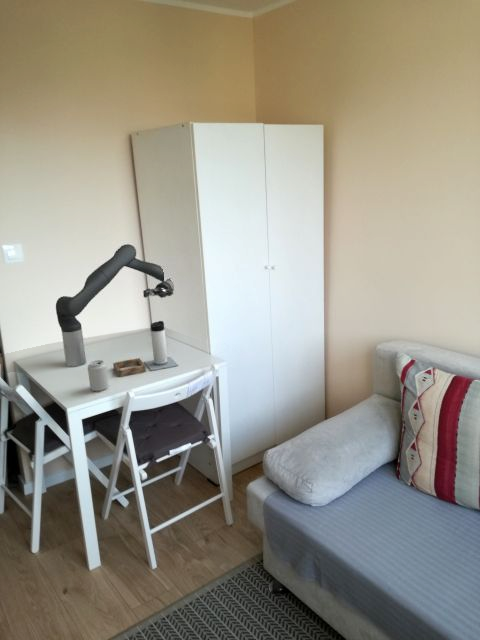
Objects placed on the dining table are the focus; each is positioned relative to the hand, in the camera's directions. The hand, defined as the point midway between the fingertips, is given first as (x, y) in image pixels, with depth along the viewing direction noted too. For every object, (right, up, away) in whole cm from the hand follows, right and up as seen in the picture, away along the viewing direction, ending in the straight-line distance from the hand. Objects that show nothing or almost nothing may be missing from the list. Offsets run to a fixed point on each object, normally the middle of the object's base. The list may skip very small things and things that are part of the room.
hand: (152, 295), depth 248 cm
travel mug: (+5, -32, -7) cm, 34 cm away
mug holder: (-9, -35, -12) cm, 38 cm away
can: (-17, -41, -32) cm, 55 cm away
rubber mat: (+5, -33, -7) cm, 34 cm away
